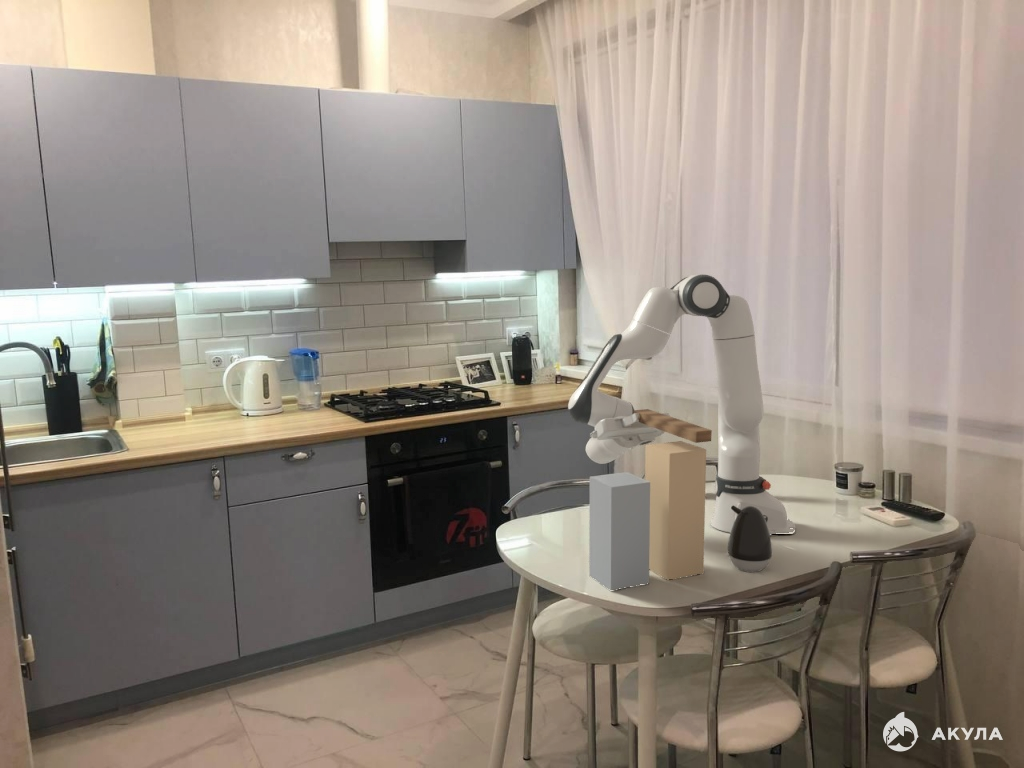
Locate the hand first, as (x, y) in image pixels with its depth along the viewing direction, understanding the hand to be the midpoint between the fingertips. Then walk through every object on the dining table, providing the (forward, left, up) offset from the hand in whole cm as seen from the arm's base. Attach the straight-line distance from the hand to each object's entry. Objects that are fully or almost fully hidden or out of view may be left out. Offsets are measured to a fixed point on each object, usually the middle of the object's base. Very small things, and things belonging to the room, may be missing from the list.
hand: (647, 415), depth 200 cm
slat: (-5, +8, -2) cm, 10 cm away
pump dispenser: (-24, +7, -36) cm, 44 cm away
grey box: (+7, +18, -36) cm, 40 cm away
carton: (-6, +10, -36) cm, 38 cm away
